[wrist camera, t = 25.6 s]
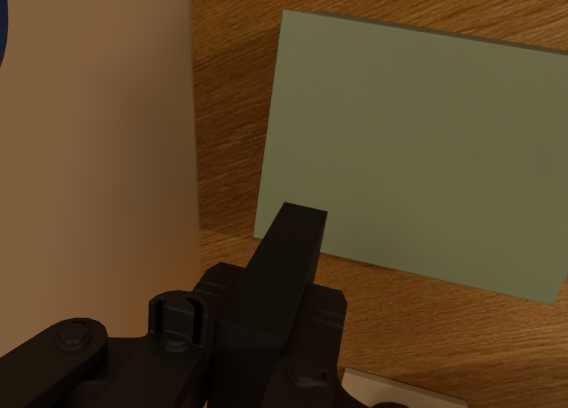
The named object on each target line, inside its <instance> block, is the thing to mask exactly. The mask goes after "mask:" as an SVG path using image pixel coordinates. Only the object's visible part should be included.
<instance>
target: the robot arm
mask: <svg viewBox="0 0 568 408" xmlns="http://www.w3.org/2000/svg"><path fill="white" fill-rule="evenodd" d="M327 214H328V211H324V210H319V209H315V208H310V207H306V206H301V205H297V204H293V203H288V202H284V203H283V205H282V207H281V208H280V210H279V212H278V214H277V215H276V217H275V219H274V220H273V222H272V224H271V226H270V227H269V229H268V231H267V232H266V234H265V236H264V238H263V239H262V241H261V243H260V245H259V246H258V248H257V250H256V251H255V253H254V255H253V257H252V258H251V260H250V262H249V263H248V265H247V267H246V268H243V267H239V266H235V265H231V264H227V263H223V262H220V263H218V264H216V265H215V266H213V267H211V268H209V269H207V271H206V272H205V273H204V275H203V276H202V278H201V279H200V281H199V282H198V283H197V285H196V286H195V287H194V289H193V291H191V292H188V291H181V290H178V291H168V292H164V293H162V294H159V295H157V296H155V297H154V298H153V299H151V300H150V301H149V319H148V320H149V321H148V333H147V334H146V336H143V337H137V338H113V337H108V334H107V331H106V328H105V326H104V325H102V324H101V323H100V322H99V321H96V320H93V319H90V318H72V319H67V320H63V321H60V322H58V323H56V324H54V325H52V326H50V327H49V328H47V329H45V330H44V331H42V332H41V333H39V334H37V335H36V336H34V337H33V338H31V339H29V340H28V341H26V342H25V343H23V344H21V345H20V346H18V347H17V348H15V349H13V350H12V351H10V352H9V353H7V354H6V355H4V356H3V357H1V358H0V408H203V407H204V405H205V403H206V401H207V399H208V401H207V408H409V407H408V406H406V405H403V404H399V403H395V402H380V403H378V404H376V405H374V406H372V407H368V406H367V405H365V404H363V403H361V402H360V401H358V400H357V399H355V398H354V397H352V396H351V395H350V394H349V393H348V392H347V391H346V390H345V389H344V388H343V386H342V385H341V383H340V382H339V379H338V376H337V362H338V357H339V351H340V345H341V339H342V333H343V327H344V321H345V315H346V310H347V301H346V299H345V297H344V294H343V292H342V291H340V290H336V289H332V288H328V287H324V286H320V285H316V284H313V282H314V279H315V274H316V269H317V264H318V259H319V254H320V249H321V244H322V239H323V234H324V229H325V224H326V219H327Z"/></svg>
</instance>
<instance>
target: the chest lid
mask: <svg viewBox="0 0 568 408" xmlns="http://www.w3.org/2000/svg"><path fill="white" fill-rule="evenodd" d="M284 202H288V203H293V204H297V205H301V206H306V207H310V208H315V209H319V210H324V211H328V214H327V219H326V224H325V229H324V234H323V239H322V244H321V249H320V252H321V253H325V254H330V255H334V256H338V257H343V258H347V259H352V260H356V261H360V262H365V263H369V264H373V265H378V266H382V267H386V268H391V269H395V270H400V271H404V272H408V273H413V274H417V275H421V276H426V277H430V278H434V279H439V280H443V281H448V282H452V283H456V284H461V285H465V286H469V287H474V288H478V289H482V290H487V291H491V292H496V293H500V294H504V295H509V296H513V297H517V298H522V299H526V300H530V301H535V302H539V303H544V304H548V305H553V304H554V302H555V300H556V298H557V296H558V294H559V292H560V290H561V287H562V285H563V283H564V281H565V279H566V277H567V275H568V55H564V54H558V53H552V52H546V51H539V50H533V49H527V48H521V47H515V46H509V45H503V44H496V43H490V42H484V41H478V40H472V39H466V38H459V37H453V36H447V35H441V34H435V33H429V32H423V31H416V30H410V29H404V28H398V27H392V26H386V25H380V24H373V23H367V22H361V21H355V20H349V19H343V18H336V17H330V16H324V15H318V14H312V13H306V12H300V11H293V10H287V9H284V10H283V12H282V20H281V27H280V35H279V43H278V50H277V58H276V66H275V73H274V81H273V88H272V96H271V104H270V111H269V119H268V126H267V134H266V142H265V149H264V157H263V165H262V172H261V180H260V187H259V195H258V203H257V210H256V218H255V225H254V233H253V237H256V238H260V239H263V238H264V236H265V234H266V232H267V231H268V229H269V227H270V226H271V224H272V222H273V220H274V219H275V217H276V215H277V214H278V212H279V210H280V208H281V207H282V205H283V203H284Z"/></svg>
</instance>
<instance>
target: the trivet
mask: <svg viewBox="0 0 568 408" xmlns="http://www.w3.org/2000/svg"><path fill="white" fill-rule="evenodd" d="M341 385H342V386H343V388H344V389H345V390H346V391H347V392H348V393H349V394H350V395H351V396H352V397H354V398H355V399H357V400H358V401H360V402H361V403H363V404H365V405H367V406H368V407H372V406H374V405H376V404H378V403H380V402H395V403H399V404H403V405H406V406H408V407H409V408H468V402H467V401H466V400H462V399H458V398H455V397H451V396H448V395H444V394H441V393H437V392H433V391H430V390H426V389H423V388H419V387H416V386H412V385H408V384H405V383H401V382H398V381H394V380H391V379H387V378H383V377H380V376H376V375H373V374H369V373H366V372H362V371H359V370H355V369H351V368H348V367H345V370H344V373H343V377H342V381H341Z"/></svg>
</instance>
